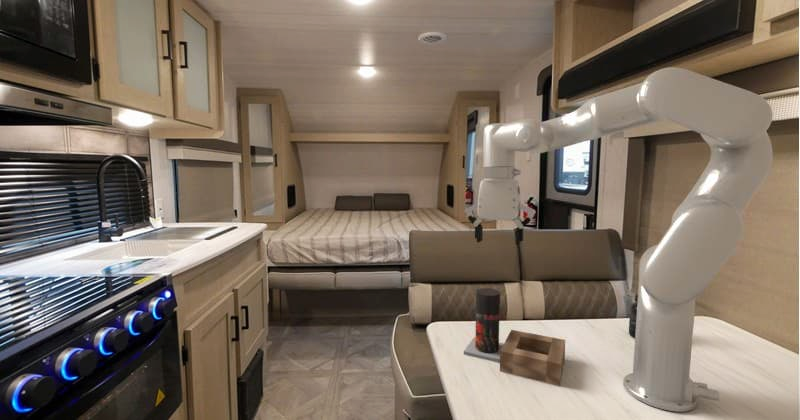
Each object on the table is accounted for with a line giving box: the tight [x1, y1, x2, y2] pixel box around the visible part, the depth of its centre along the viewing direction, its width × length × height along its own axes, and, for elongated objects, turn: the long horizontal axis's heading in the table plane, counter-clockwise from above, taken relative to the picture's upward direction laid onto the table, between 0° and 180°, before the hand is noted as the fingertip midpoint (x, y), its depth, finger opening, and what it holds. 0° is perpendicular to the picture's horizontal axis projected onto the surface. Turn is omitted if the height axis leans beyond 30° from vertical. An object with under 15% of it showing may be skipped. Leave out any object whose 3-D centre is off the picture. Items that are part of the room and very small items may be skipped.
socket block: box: [499, 329, 566, 387], centre depth 89 cm, size 13×13×5 cm
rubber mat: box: [463, 336, 505, 363], centre depth 97 cm, size 9×9×1 cm
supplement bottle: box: [628, 292, 638, 339], centre depth 104 cm, size 7×7×12 cm
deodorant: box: [474, 287, 501, 353], centre depth 96 cm, size 6×6×15 cm
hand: (498, 242), depth 94 cm, fingers open, 9 cm apart
